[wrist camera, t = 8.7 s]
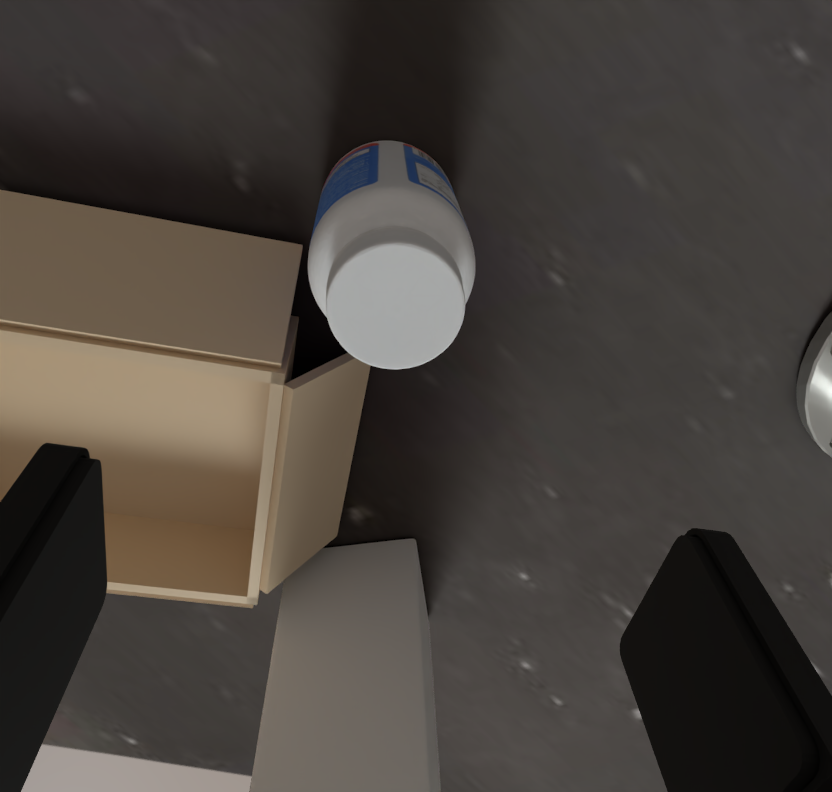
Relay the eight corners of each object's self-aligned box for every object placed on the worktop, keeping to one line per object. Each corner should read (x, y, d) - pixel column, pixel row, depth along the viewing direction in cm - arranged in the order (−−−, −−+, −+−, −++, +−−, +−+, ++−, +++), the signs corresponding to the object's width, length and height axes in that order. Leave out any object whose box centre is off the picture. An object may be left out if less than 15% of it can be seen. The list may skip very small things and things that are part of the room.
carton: (391, 257, 28) (392, 307, 24) (327, 582, 39) (320, 657, 34) (-142, 159, 25) (-247, 196, 21) (-57, 540, 36) (-117, 616, 31)
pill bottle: (324, 270, 28) (300, 391, 20) (316, 136, 26) (285, 214, 17) (453, 270, 29) (481, 390, 20) (459, 138, 26) (495, 215, 18)
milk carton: (288, 549, 37) (215, 990, 21) (416, 535, 37) (440, 968, 21) (313, 632, 41) (267, 1060, 25) (429, 620, 41) (458, 1042, 25)
